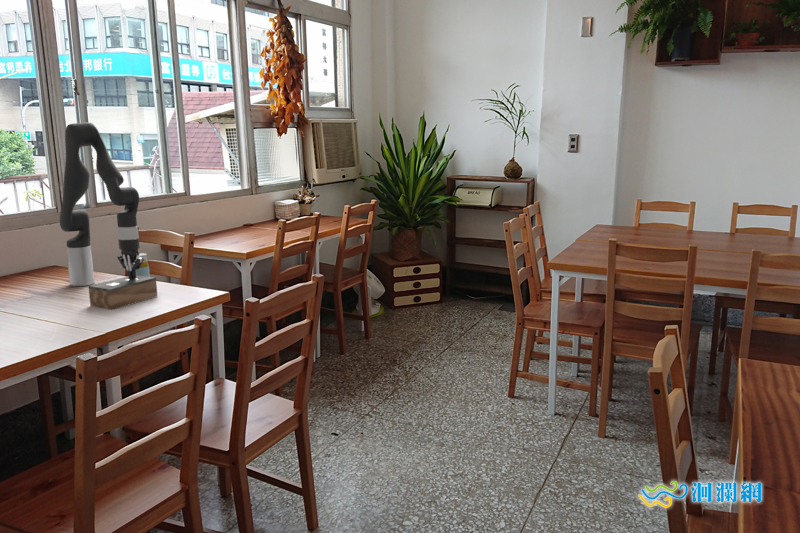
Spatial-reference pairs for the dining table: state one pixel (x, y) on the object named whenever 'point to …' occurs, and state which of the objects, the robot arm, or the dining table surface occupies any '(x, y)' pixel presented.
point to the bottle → (143, 266)
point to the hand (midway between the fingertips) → (132, 279)
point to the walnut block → (122, 292)
